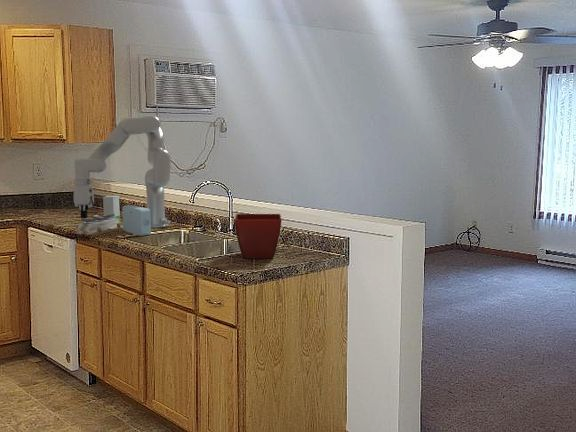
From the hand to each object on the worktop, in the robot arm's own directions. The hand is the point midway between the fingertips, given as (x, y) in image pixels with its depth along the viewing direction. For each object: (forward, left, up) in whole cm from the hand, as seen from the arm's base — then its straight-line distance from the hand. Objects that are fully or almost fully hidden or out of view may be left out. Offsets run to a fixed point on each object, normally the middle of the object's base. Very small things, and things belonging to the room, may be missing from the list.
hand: (84, 218), depth 358 cm
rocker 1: (-3, 0, -2) cm, 4 cm away
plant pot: (-112, +24, -8) cm, 115 cm away
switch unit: (-4, -8, -8) cm, 12 cm away
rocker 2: (-3, -8, -2) cm, 9 cm away
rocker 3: (-3, -16, -2) cm, 16 cm away
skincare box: (+8, -32, -8) cm, 34 cm away
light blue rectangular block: (-26, -9, -8) cm, 29 cm away
